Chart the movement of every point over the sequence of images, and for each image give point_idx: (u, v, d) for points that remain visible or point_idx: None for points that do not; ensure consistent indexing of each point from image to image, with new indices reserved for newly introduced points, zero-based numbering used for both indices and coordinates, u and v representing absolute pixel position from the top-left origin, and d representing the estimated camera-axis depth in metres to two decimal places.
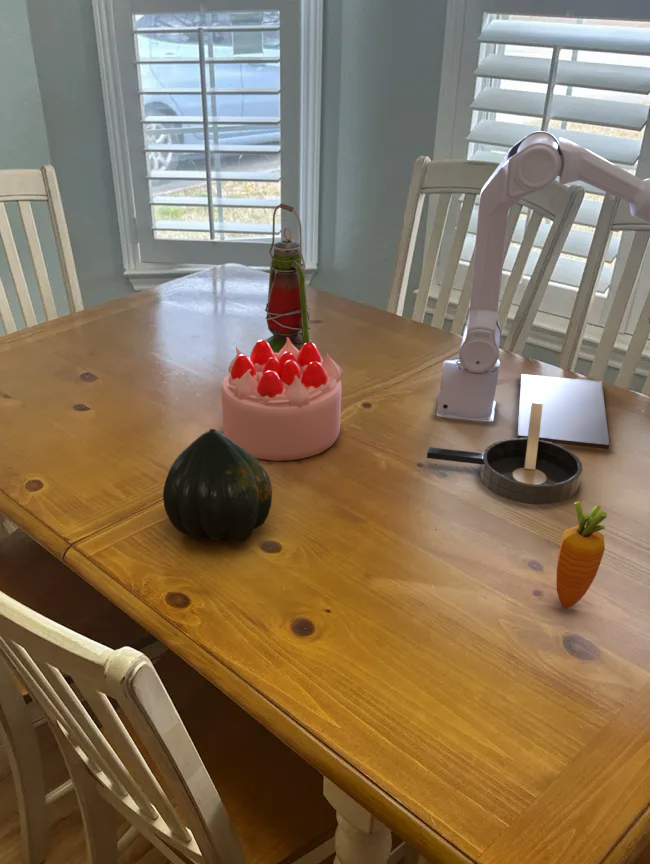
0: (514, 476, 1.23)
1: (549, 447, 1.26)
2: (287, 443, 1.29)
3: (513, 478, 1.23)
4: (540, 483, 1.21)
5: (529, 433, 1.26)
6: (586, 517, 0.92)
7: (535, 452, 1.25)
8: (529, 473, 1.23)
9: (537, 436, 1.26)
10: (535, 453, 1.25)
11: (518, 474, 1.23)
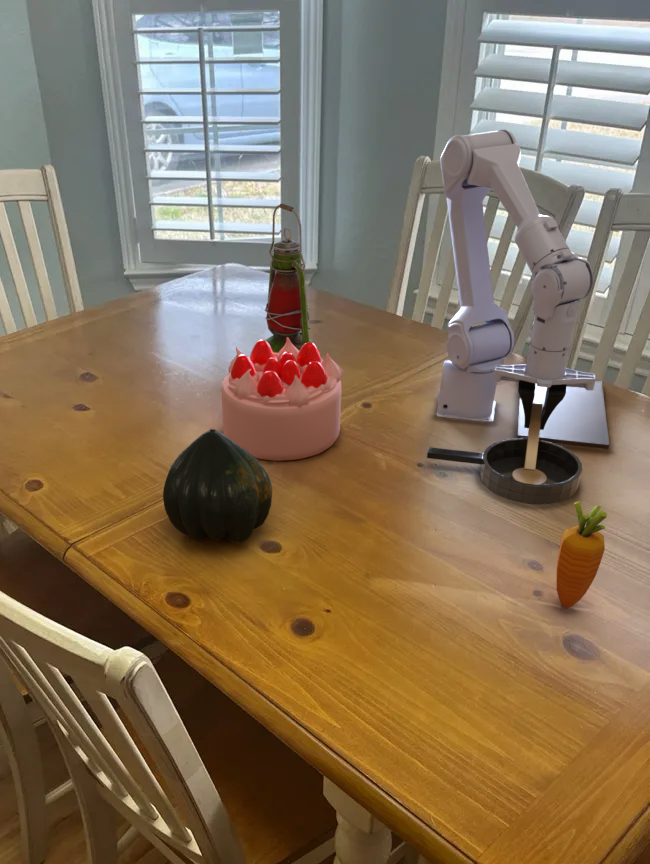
0: (514, 476, 1.23)
1: (549, 447, 1.26)
2: (287, 443, 1.29)
3: (513, 478, 1.23)
4: (540, 483, 1.21)
5: (529, 433, 1.26)
6: (586, 517, 0.92)
7: (535, 452, 1.25)
8: (529, 473, 1.23)
9: (537, 436, 1.26)
10: (535, 453, 1.25)
11: (518, 474, 1.23)
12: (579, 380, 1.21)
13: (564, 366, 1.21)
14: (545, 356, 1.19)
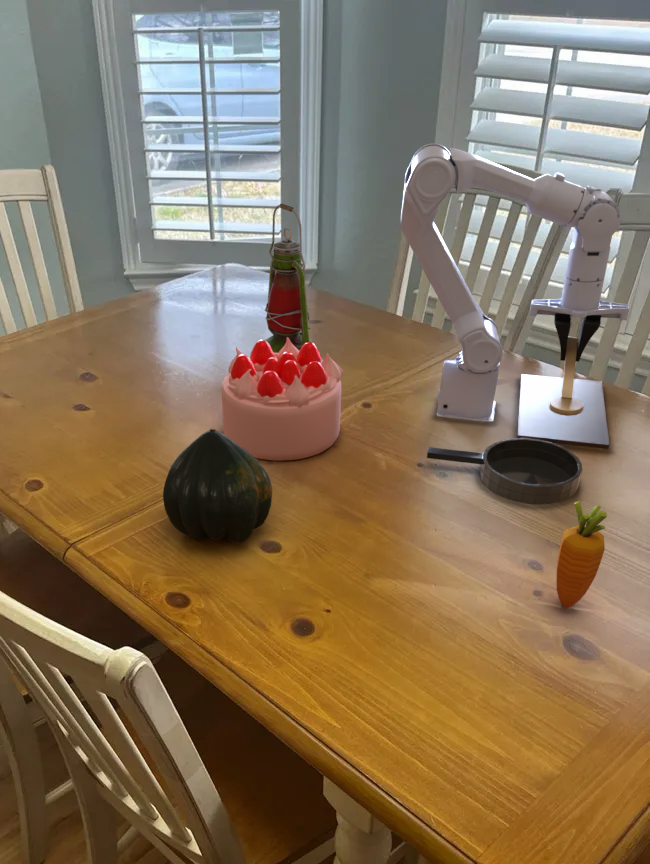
0: (552, 404, 1.28)
1: (549, 447, 1.26)
2: (287, 443, 1.29)
3: (551, 406, 1.28)
4: (577, 409, 1.27)
5: (565, 364, 1.32)
6: (586, 517, 0.92)
7: (572, 382, 1.31)
8: (566, 401, 1.29)
9: (573, 367, 1.32)
10: (572, 383, 1.30)
11: (556, 402, 1.29)
12: (613, 310, 1.27)
13: (598, 297, 1.27)
14: (580, 287, 1.25)
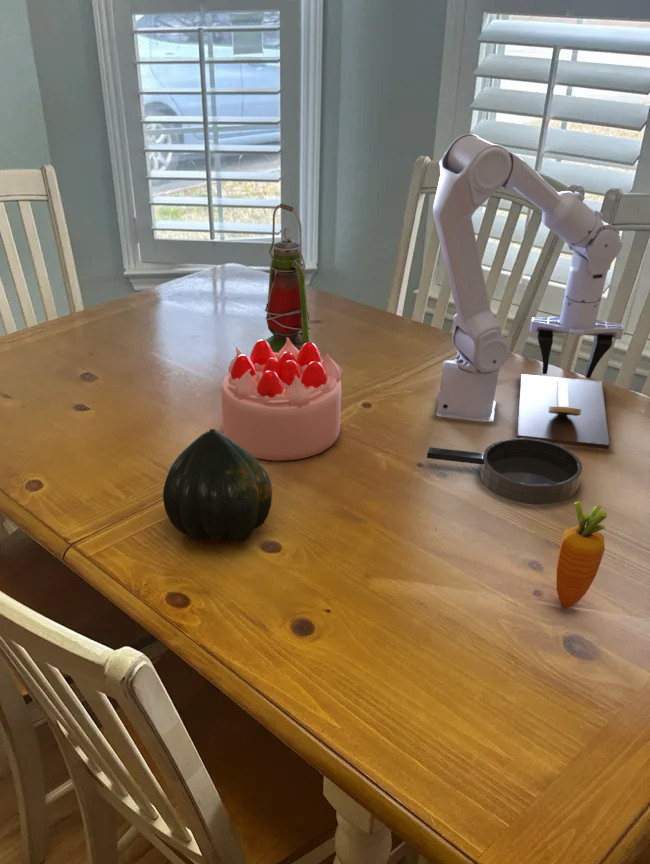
0: None
1: (549, 447, 1.26)
2: (287, 443, 1.29)
3: (551, 407, 1.35)
4: (576, 408, 1.34)
5: (559, 392, 1.43)
6: (586, 517, 0.92)
7: (566, 400, 1.40)
8: None
9: (566, 393, 1.42)
10: (567, 401, 1.40)
11: None
12: (609, 329, 1.35)
13: (595, 317, 1.34)
14: (578, 307, 1.33)
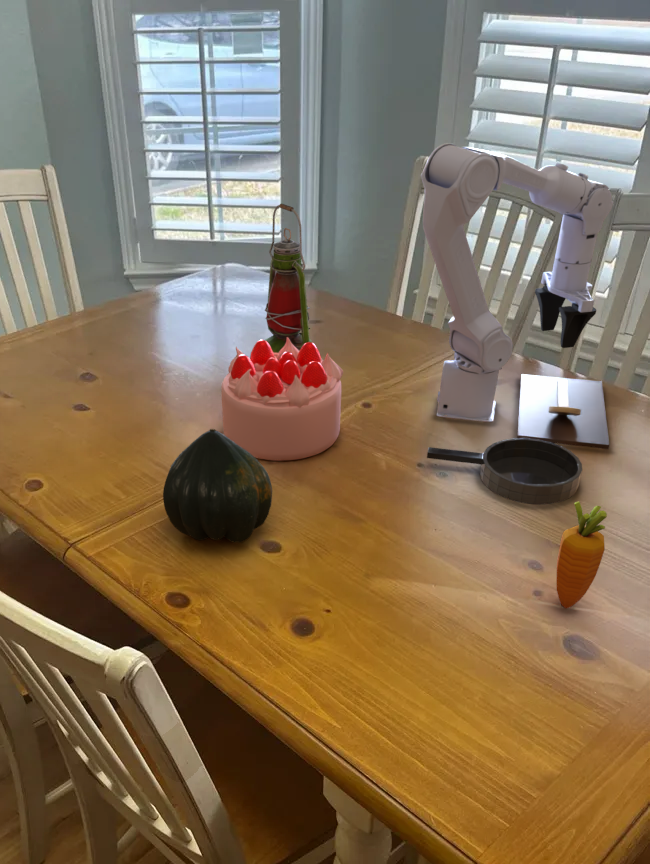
0: None
1: (549, 447, 1.26)
2: (287, 443, 1.29)
3: (551, 407, 1.35)
4: (576, 408, 1.34)
5: (559, 392, 1.43)
6: (586, 517, 0.92)
7: (566, 400, 1.40)
8: None
9: (566, 393, 1.42)
10: (567, 401, 1.40)
11: None
12: None
13: None
14: None
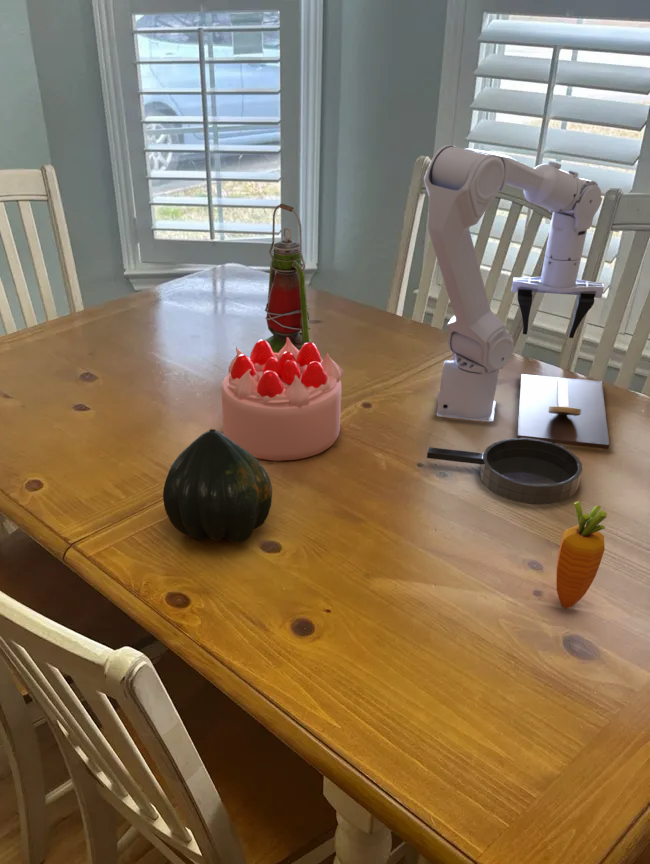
0: None
1: (549, 447, 1.26)
2: (287, 443, 1.29)
3: (551, 407, 1.35)
4: (576, 408, 1.34)
5: (559, 392, 1.43)
6: (586, 517, 0.92)
7: (566, 400, 1.40)
8: None
9: (566, 393, 1.42)
10: (567, 401, 1.40)
11: None
12: None
13: None
14: None
